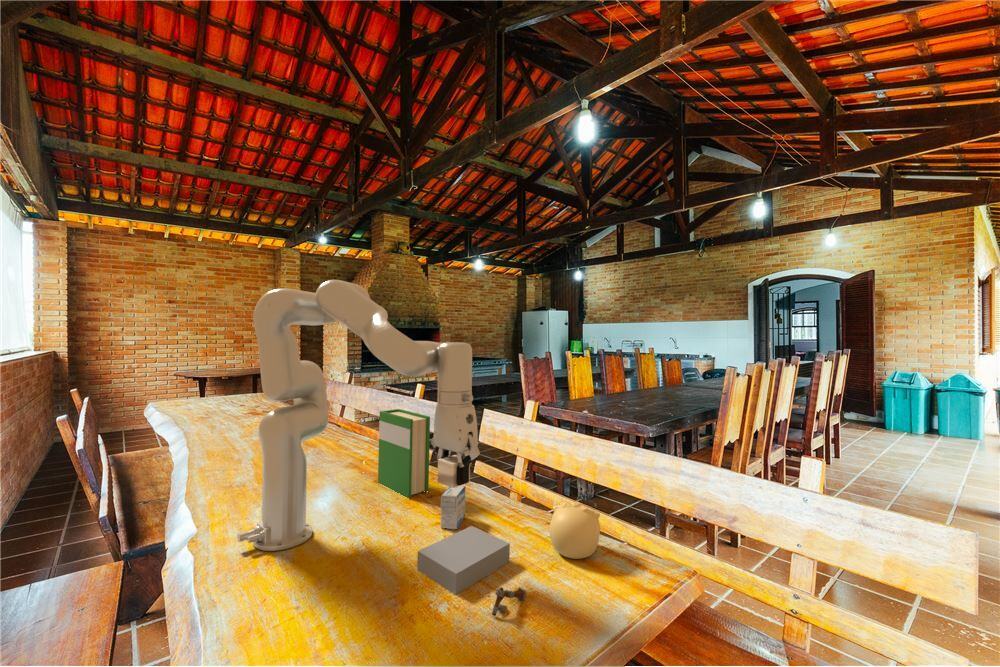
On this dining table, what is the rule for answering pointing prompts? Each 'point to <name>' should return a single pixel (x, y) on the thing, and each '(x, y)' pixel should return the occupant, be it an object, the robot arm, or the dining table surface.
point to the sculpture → (574, 530)
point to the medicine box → (453, 507)
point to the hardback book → (404, 451)
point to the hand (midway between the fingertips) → (453, 479)
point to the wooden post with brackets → (509, 594)
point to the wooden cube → (448, 471)
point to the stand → (463, 558)
